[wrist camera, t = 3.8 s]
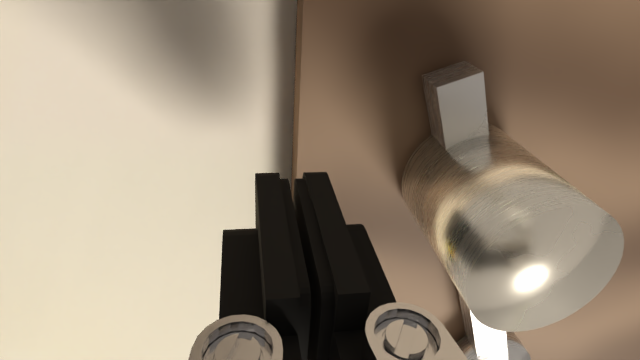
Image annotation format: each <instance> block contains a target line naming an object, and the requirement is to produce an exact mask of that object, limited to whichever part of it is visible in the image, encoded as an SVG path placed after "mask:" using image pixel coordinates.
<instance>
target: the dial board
mask: <svg viewBox="0 0 640 360" xmlns="http://www.w3.org/2000/svg"><path fill="white" fill-rule="evenodd" d="M462 61H467V62H468V63H470V64H472V65H473V66H475V67H477V68H478V69H480V70H482V71H483V72H484V83H485V95H486V106H487V118H488V123H490V124H492V125H494V126H496V127H498V128H499V129H501V130H502V131H503V132H505V133H506V134H507V135H508V136H510V137H511V138H512V139H514V140H515V141H516V142H517V143H519V144H520V145H521V146H522V147H524V148H525V149H526V150H528V151H529V152H530V153H531V154H533V155H534V156H535V157H537V158H538V159H539V160H540V161H542V162H543V163H544V164H546V165H547V166H548V167H549V168H551V169H552V170H553V171H555V172H556V173H557V174H558V175H560V176H561V177H562V178H564V179H565V180H566V181H567V182H569V183H570V184H571V185H573V186H574V187H575V188H576V189H578V190H579V191H580V192H582V193H583V194H584V195H585V196H587V197H588V198H589V199H591V200H592V201H593V202H594V203H596V204H597V205H598V206H600V207H601V208H602V209H603V210H605V211H606V212H607V213H609V214H610V215H611V216H612V217H613V218H614V219H615V220H616V221H617V222H618V224H619V225H620V227H621V229H622V232H623V236H624V250H623V255H622V258H621V261H620V264H619V266H618V268H617V270H616V272H615V273H614V275H613V276H612V278H611V279H610V281H609V282H608V283H607V285H606V286H605V287H604V288H603V289H602V290H601V291H600V292H599V293H598V295H596V296H595V297H594V298H593V299H592V300H591V301H590V302H588V303H587V304H586V305H585V306H583V307H582V308H580V309H579V310H577V311H576V312H574V313H573V314H571V315H569V316H567V317H566V318H564V319H562V320H560V321H557V322H555V323H553V324H550V325H547V326H544V327H541V328H538V329H533V330H528V331H520V332H514V333H515V334H516V336H517V337H518V338H519V340H520V341H521V343H522V344H523V346H524V347H525V349H526V350H527V352H528V353H529V355H530V358H531V360H640V0H297V24H296V56H295V87H294V118H293V150H292V181H291V195H292V200H293V196H294V180H295V179H298V178H302V176H303V173H304V172H327V174H328V176H329V179H330V181H331V184H332V187H333V190H334V192H335V195H336V198H337V201H338V203H339V206H340V209H341V212H342V214H343V217H344V220H345V222H346V225H347V224H362V225H364V227H365V229H366V231H367V233H368V236H369V238H370V240H371V243H372V245H373V247H374V250H375V252H376V255H377V257H378V259H379V262H380V264H381V266H382V269H383V271H384V273H385V276H386V278H387V280H388V283H389V285H390V288H391V290H392V292H393V295H394V297H395V299H396V302H402V303H408V304H413V305H416V306H418V307H421V308H423V309H425V310H427V311H428V312H430V313H431V314H433V315H434V316H436V317H437V319H438V320H439V321H440V322H441V323H442V324H443V325H444V326H445V328H446V329H447V331H448V332H449V333H450V335H451V336H452V338H453V339H454V341H455V342H457V341H458V340H460V339H461V338H462V337H463V336H465V330H464V324H463V318H462V312H461V306H460V300H459V294H458V289H457V288H456V286H455V284H454V283H453V281H452V280H451V278H450V276H449V275H448V273H447V271H446V270H445V268H444V266H443V265H442V263H441V261H440V260H439V258H438V256H437V255H436V253H435V251H434V250H433V248H432V246H431V245H430V243H429V242H428V240H427V238H426V237H425V235H424V233H423V232H422V230H421V228H420V227H419V225H418V223H417V222H416V220H415V218H414V217H413V215H412V213H411V212H410V210H409V208H408V207H407V205H406V203H405V201H404V198H403V195H402V189H401V184H402V176H403V172H404V169H405V166H406V164H407V162H408V160H409V158H410V157H411V155H412V153H413V152H414V151H415V149H416V148H417V147H418V146H419V145H420V144H421V143H422V142H423V141H424V140H425V139H426V138H428V137H429V136H430V135H432V134H431V128H430V122H429V116H428V110H427V104H426V98H425V92H424V86H423V80H422V75H425V74H428V73H430V72H433V71H436V70H439V69H442V68H445V67H448V66H451V65H454V64H457V63H459V62H462Z"/></svg>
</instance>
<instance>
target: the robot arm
mask: <svg viewBox="0 0 640 360" xmlns="http://www.w3.org/2000/svg"><path fill="white" fill-rule="evenodd" d="M255 203H256V229H234V230H223V242H222V265H221V288H220V312H219V319H218V320H216V321H215V322H213V323H212V324H210V325H208V326H207V327H206V328H205V329H204V330H203V331H202V332H201V333H200V334H199V335H198V336H197V338H196V340H195V342H194V344H193V346H192V349H191V352H190V356H189V359H188V360H468V359H467V357H466V356H465V355H464V353H463V352H462V350H461V349H460V348H459V346H458V345H457V343H456V342H455V341H454V339H453V338H452V336H451V335H450V333H449V332H448V331H447V329H446V328H445V326H444V325H443V324H442V323H441V322H440V321H439V320H438V319H437V317H436V316H434V315H433V314H431V313H430V312H428V311H427V310H425V309H423V308H421V307H418V306H416V305H413V304H408V303H402V302H396V299H395V297H394V295H393V292H392V290H391V288H390V285H389V283H388V280H387V278H386V276H385V273H384V271H383V269H382V266H381V264H380V262H379V259H378V257H377V255H376V252H375V250H374V247H373V245H372V243H371V240H370V238H369V236H368V233H367V231H366V229H365V227H364V225H362V224H347V225H346V222H345V220H344V217H343V214H342V212H341V209H340V206H339V203H338V201H337V198H336V195H335V192H334V190H333V187H332V184H331V181H330V179H329V176H328V174H327V172H304V173H303V176H302V178H298V179H295V180H294V196H293V200H292V195H291V190H290V185H289V180H288V179H280V176H279V173H255Z"/></svg>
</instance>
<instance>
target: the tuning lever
mask: <svg viewBox="0 0 640 360" xmlns="http://www.w3.org/2000/svg"><path fill="white" fill-rule="evenodd" d="M422 80H423V86H424V92H425V98H426V104H427V110H428V116H429V122H430V128H431V134H432V135H430V136H429V137H428V138H426V139H425V140H424V141H423V142H422V143H421V144H420V145H419V146H418V147H417V148H416V149H415V151H414V152H413V153H412V155H411V157H410V158H409V160H408V162H407V164H406V166H405V169H404V172H403V176H402V184H401V189H402V195H403V198H404V201H405V203H406V205H407V207H408V208H409V210H410V212H411V213H412V215H413V217H414V218H415V220H416V222H417V223H418V225H419V227H420V228H421V230H422V232H423V233H424V235H425V237H426V238H427V240H428V242H429V243H430V245H431V246H432V248H433V250H434V251H435V253H436V255H437V256H438V258H439V260H440V261H441V263H442V265H443V266H444V268H445V270H446V271H447V273H448V275H449V276H450V278H451V280H452V281H453V283H454V284H455V286H456V288H457V289H458V294H459V300H460V306H461V312H462V318H463V324H464V330H465V336H463V337H462V338H461V339H460V340H458V341H457V342H456V343H457V345H458V346H459V348H460V349H461V350H462V352H463V353H464V355H465V356H466V357H467V359H468V360H531V358H530V355H529V353H528V352H527V350H526V349H525V347H524V346H523V344H522V343H521V341H520V340H519V338H518V337H517V336H516V334H515V333H514V332H520V331H528V330H533V329H538V328H541V327H544V326H547V325H550V324H553V323H555V322H557V321H560V320H562V319H564V318H566V317H567V316H569V315H571V314H573V313H574V312H576V311H577V310H579V309H580V308H582V307H583V306H585V305H586V304H587V303H588V302H590V301H591V300H592V299H593V298H594V297H595V296H596V295H598V293H599V292H600V291H601V290H602V289H603V288H604V287H605V286H606V285H607V283H608V282H609V281H610V279H611V278H612V276H613V275H614V273H615V272H616V270H617V268H618V266H619V264H620V261H621V258H622V255H623V250H624V236H623V232H622V229H621V227H620V225H619V224H618V222H617V221H616V220H615V219H614V218H613V217H612V216H611V215H610V214H609V213H607V212H606V211H605V210H603V209H602V208H601V207H600V206H598V205H597V204H596V203H594V202H593V201H592V200H591V199H589V198H588V197H587V196H585V195H584V194H583V193H582V192H580V191H579V190H578V189H576V188H575V187H574V186H573V185H571V184H570V183H569V182H567V181H566V180H565V179H564V178H562V177H561V176H560V175H558V174H557V173H556V172H555V171H553V170H552V169H551V168H549V167H548V166H547V165H546V164H544V163H543V162H542V161H540V160H539V159H538V158H537V157H535V156H534V155H533V154H531V153H530V152H529V151H528V150H526V149H525V148H524V147H522V146H521V145H520V144H519V143H517V142H516V141H515V140H514V139H512V138H511V137H510V136H508V135H507V134H506V133H505V132H503V131H502V130H501V129H499V128H498V127H496V126H494V125H492V124H490V123H488V118H487V106H486V95H485V83H484V72H483V71H482V70H480V69H478V68H477V67H475V66H473V65H472V64H470V63H468V62H467V61H462V62H459V63H457V64H454V65H451V66H448V67H445V68H442V69H439V70H436V71H433V72H430V73H428V74H425V75H422Z"/></svg>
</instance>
